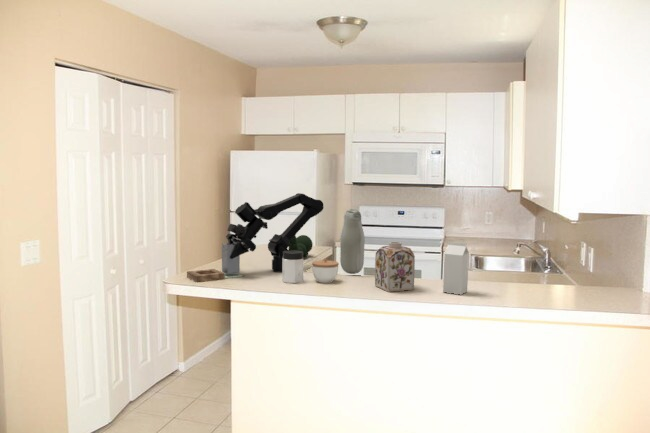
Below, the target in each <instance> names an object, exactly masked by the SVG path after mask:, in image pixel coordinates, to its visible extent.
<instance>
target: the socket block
mask: <svg viewBox="0 0 650 433" xmlns="http://www.w3.org/2000/svg"><path fill="white" fill-rule="evenodd" d="M186 277H187V279H189V280H192V281H193V282H196V283H200V282H201V283H203V282H211V281H220V280H225V279H226V278H225V273H223V272H222V271H220V270H218V269H215V268H211V269H210V268H209V269H201V270H200V269H198V270H190V271H186Z"/></svg>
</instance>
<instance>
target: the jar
mask: <svg viewBox="0 0 650 433" xmlns="http://www.w3.org/2000/svg"><path fill="white" fill-rule="evenodd" d="M288 250H289V249H288ZM304 259H305V258H303V252H302V251H296V250H289V251H284V252H283V258H282V271H281V273H282V274H281V276H282V277H281V278H282V279H281V280H282V281H283V283H286V284H287V283H289V284H298V283H303V282H304Z"/></svg>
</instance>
